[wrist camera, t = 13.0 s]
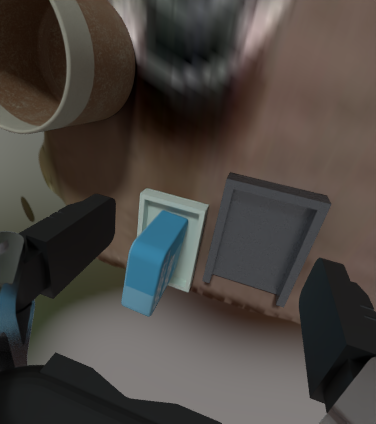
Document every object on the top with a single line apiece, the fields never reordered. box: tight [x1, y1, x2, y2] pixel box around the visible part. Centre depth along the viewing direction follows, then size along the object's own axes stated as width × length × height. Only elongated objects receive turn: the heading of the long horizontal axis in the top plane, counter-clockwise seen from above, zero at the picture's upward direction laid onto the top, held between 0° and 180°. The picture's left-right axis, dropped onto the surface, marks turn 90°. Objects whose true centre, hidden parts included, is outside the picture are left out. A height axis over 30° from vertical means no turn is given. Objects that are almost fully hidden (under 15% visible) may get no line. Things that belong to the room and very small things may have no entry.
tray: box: [137, 188, 209, 292], centre depth 44 cm, size 11×17×2 cm, turn 170°
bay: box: [203, 172, 331, 307], centre depth 39 cm, size 13×18×3 cm
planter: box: [0, 0, 135, 134], centre depth 31 cm, size 16×16×14 cm
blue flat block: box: [122, 210, 188, 316], centre depth 40 cm, size 12×4×12 cm, turn 166°
